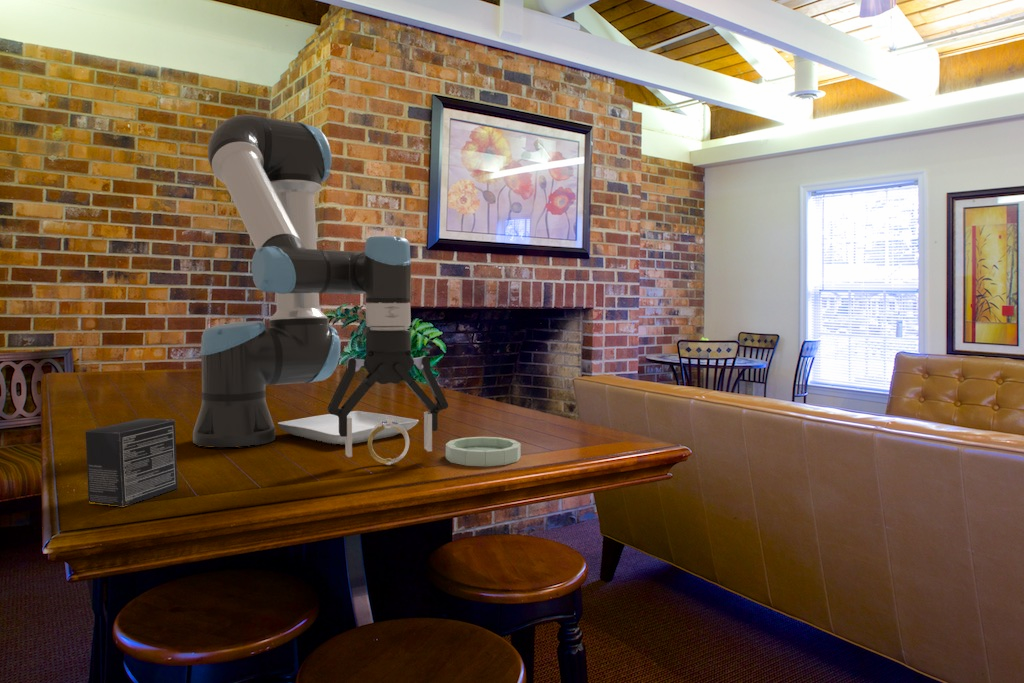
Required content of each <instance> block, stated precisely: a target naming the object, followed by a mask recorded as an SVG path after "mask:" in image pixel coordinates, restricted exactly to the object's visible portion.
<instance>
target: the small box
mask: <svg viewBox="0 0 1024 683" xmlns="http://www.w3.org/2000/svg"><path fill="white" fill-rule="evenodd" d="M176 440H177V439H176V420H175V419H170V418H169V419H168V418H167V419H165V418H138V419H134V420H130V421H126V422H120V423H116V424H112V425H111V424H110V425H106V426H102V427H97V428H93V429H87V430H85V447H86V448H85V449H86V468H87V469H86V470H87V474H86V475H87V476H86V477H87V492H88V493H87V494H88V496H87V497H88V499H87V500H88V501H90V502H95V503H102V504H110V505H118V506H125V505H129V504H133V503H135V504H137V503H136V502H138V503H140V502H139V501H141V502H143V501H142V500H144V501H146V500H149V499H152V498H154V496H155V497H157V496H160V494H161V495H163V494H167V493H169V492H172V491H174V490H178V489H179V485H178V484H179V483H178V468H177V467H178V466H177V444H176ZM177 488H178V489H177ZM133 505H134V504H133Z"/></svg>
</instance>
